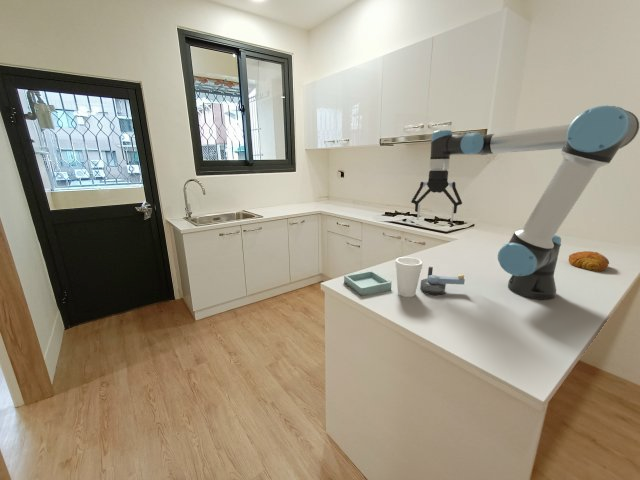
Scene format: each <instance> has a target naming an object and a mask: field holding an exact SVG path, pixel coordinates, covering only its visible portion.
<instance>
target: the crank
mask: <svg viewBox="0 0 640 480" xmlns="http://www.w3.org/2000/svg"><path fill="white" fill-rule="evenodd" d="M464 277H465V275H464V274H460V273H459V274H458V275H457V276H443V275H442V276H438V275H436V274H432V275H429V276H428V275H427V279H428V283H430V284H446V285H465V281H466V280H465V278H464Z"/></svg>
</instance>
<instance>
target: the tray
mask: <svg viewBox="0 0 640 480" xmlns="http://www.w3.org/2000/svg"><path fill="white" fill-rule="evenodd" d="M343 283H344V284H346V285H347V286H348V287H349V288H351V289H352V290H353V291H355V292H356V293H358V295H360V296H361V297H362V296H365V295H366V296H367V295H371V294H376V293H381V292H385V291H389V290H392V281H390V280H388V279H387V278H385V277H383V276H382V275H380V274H379V273H377V272H376V271H373V270H367V271H364V272H363V271H362V272H358V273H352V274H346V275H344V276H343Z"/></svg>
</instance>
